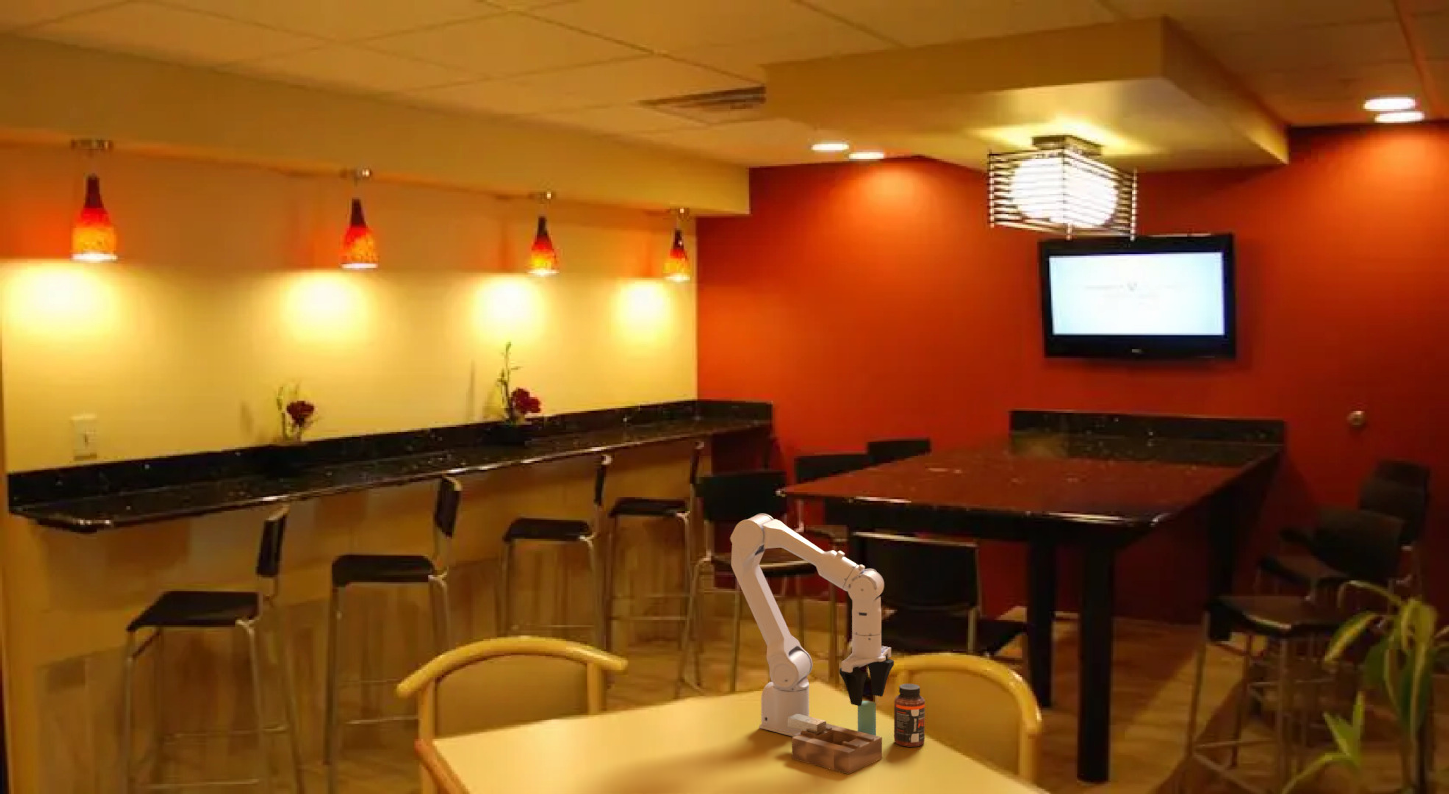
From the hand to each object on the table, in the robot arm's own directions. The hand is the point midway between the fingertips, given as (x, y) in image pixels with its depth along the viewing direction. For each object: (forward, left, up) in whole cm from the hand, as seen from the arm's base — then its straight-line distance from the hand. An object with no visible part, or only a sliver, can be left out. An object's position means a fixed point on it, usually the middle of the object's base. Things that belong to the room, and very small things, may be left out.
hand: (867, 700), depth 248 cm
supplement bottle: (+8, +3, -8) cm, 12 cm away
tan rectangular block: (-5, -13, -3) cm, 14 cm away
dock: (+2, -13, -8) cm, 15 cm away
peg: (0, 0, -8) cm, 8 cm away
